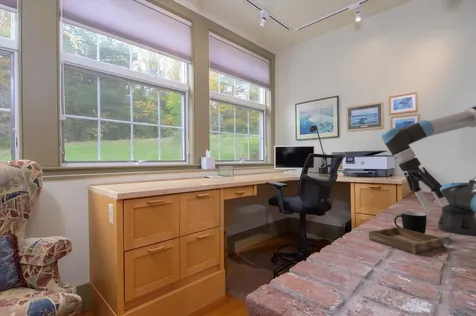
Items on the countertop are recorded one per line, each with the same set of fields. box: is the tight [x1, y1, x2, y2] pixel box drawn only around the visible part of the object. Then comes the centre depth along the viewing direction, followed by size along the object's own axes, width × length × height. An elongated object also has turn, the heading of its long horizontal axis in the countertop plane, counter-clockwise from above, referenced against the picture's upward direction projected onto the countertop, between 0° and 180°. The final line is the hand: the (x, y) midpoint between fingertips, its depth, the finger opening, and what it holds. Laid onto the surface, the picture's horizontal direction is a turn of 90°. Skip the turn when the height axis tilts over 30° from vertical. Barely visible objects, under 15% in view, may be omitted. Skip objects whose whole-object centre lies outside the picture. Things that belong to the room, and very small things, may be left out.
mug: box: [393, 210, 428, 234], centre depth 105 cm, size 12×9×10 cm
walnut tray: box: [368, 226, 445, 256], centre depth 94 cm, size 18×18×4 cm
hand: (435, 205), depth 98 cm, fingers open, 13 cm apart
